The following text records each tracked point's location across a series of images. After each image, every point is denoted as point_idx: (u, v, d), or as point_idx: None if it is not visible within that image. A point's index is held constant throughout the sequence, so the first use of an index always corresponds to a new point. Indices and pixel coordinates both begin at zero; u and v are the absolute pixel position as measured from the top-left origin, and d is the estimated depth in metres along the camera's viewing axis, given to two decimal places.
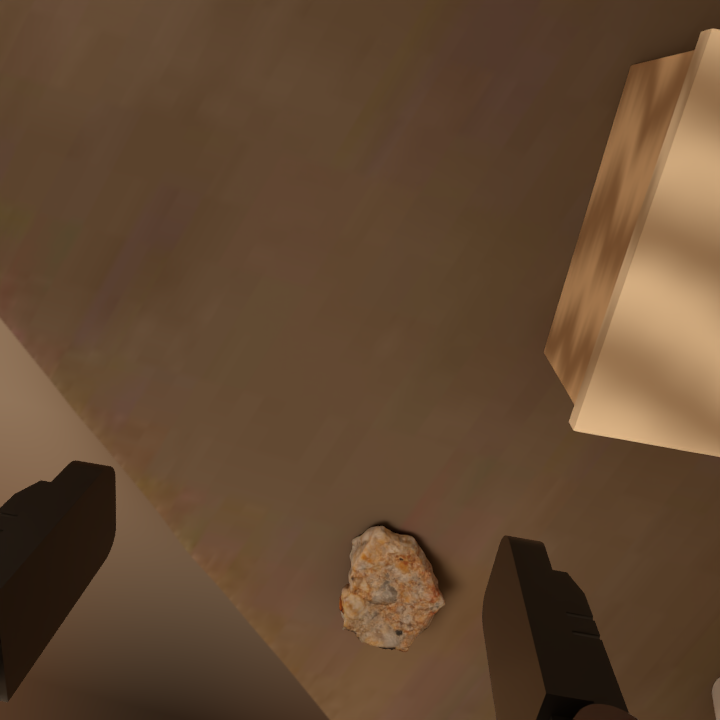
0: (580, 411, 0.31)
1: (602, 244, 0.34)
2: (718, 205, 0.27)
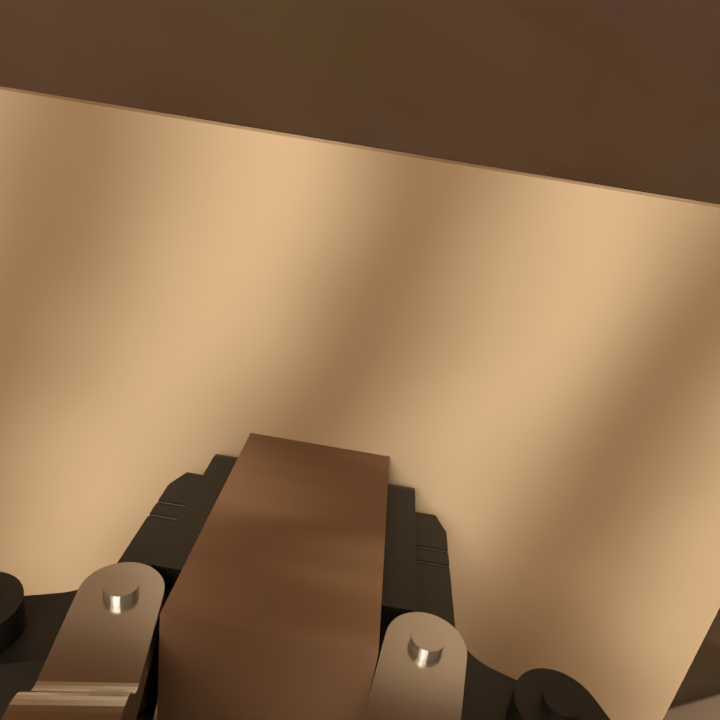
0: None
1: None
2: (485, 331, 0.11)
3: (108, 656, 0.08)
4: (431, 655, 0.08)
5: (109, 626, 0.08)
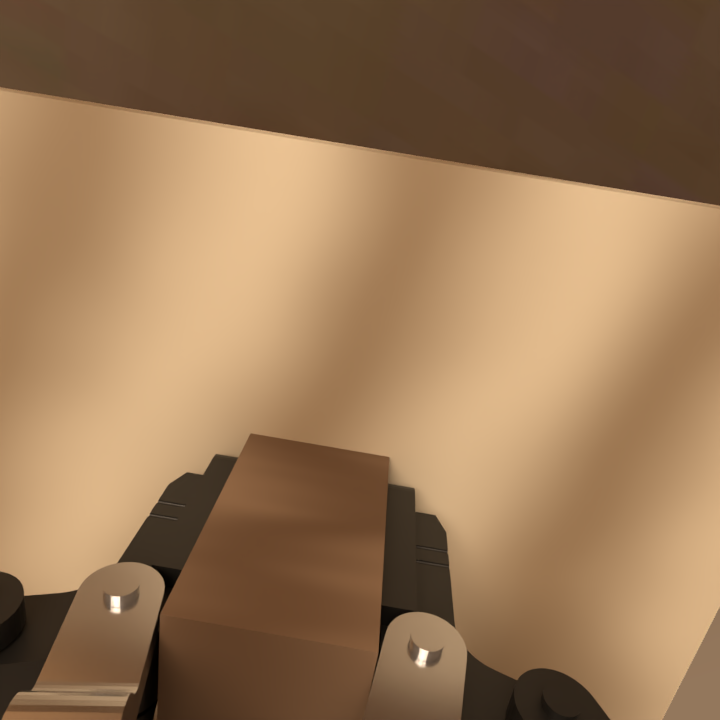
0: None
1: None
2: (485, 332, 0.11)
3: (108, 656, 0.08)
4: (431, 655, 0.08)
5: (110, 626, 0.08)
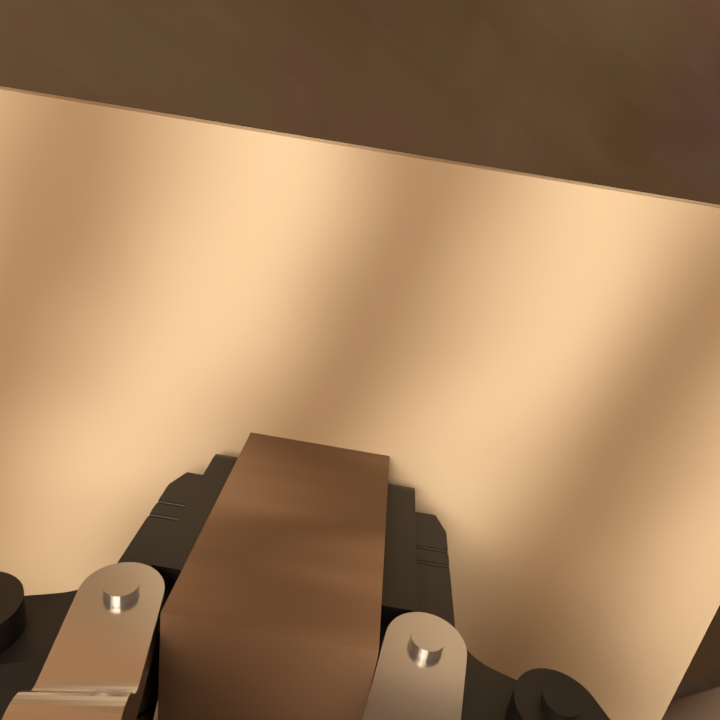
0: None
1: None
2: (485, 331, 0.11)
3: (108, 656, 0.08)
4: (431, 655, 0.08)
5: (110, 627, 0.08)
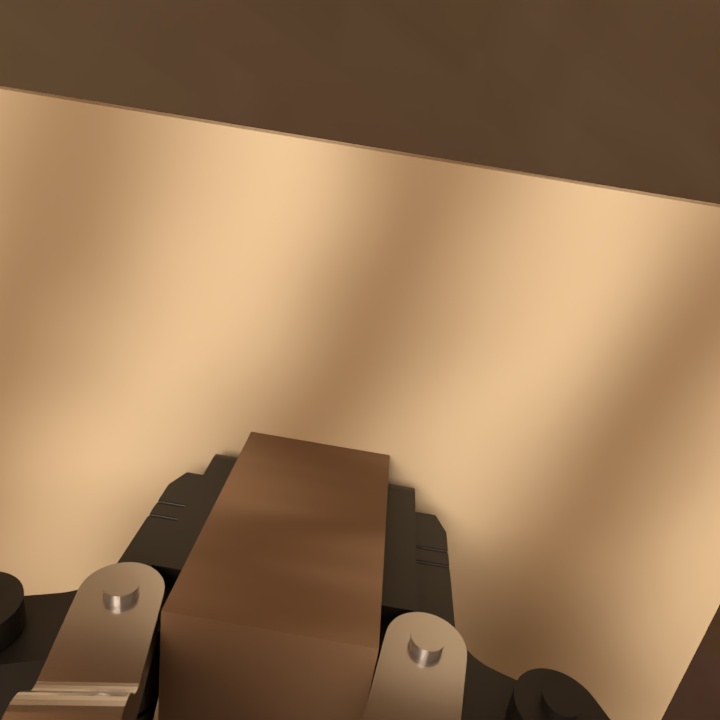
0: None
1: None
2: (485, 330, 0.11)
3: (108, 656, 0.08)
4: (431, 655, 0.08)
5: (110, 625, 0.08)
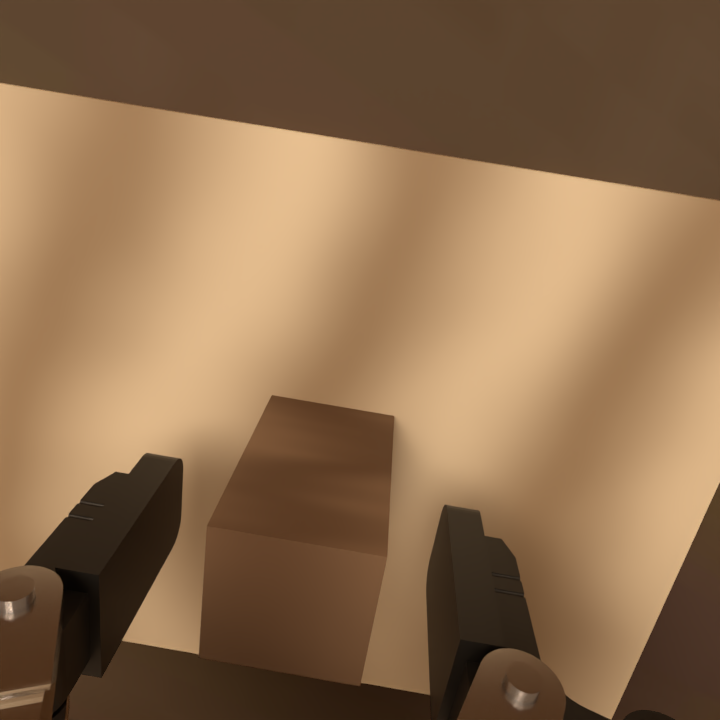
0: None
1: None
2: (478, 303, 0.13)
3: None
4: (529, 697, 0.08)
5: (9, 631, 0.08)
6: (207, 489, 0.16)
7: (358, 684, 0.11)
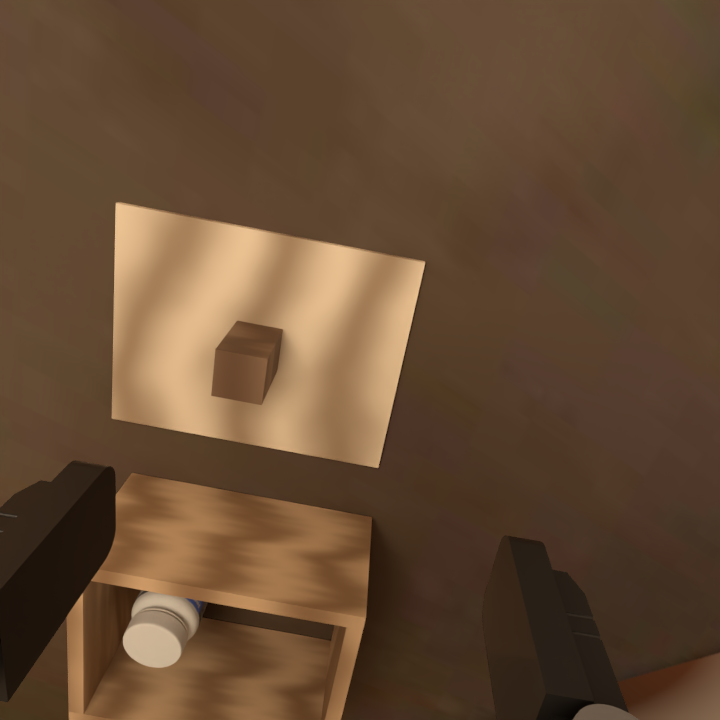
0: (134, 206, 0.36)
1: (229, 534, 0.40)
2: (310, 287, 0.37)
3: None
4: None
5: None
6: (211, 358, 0.39)
7: (261, 404, 0.35)
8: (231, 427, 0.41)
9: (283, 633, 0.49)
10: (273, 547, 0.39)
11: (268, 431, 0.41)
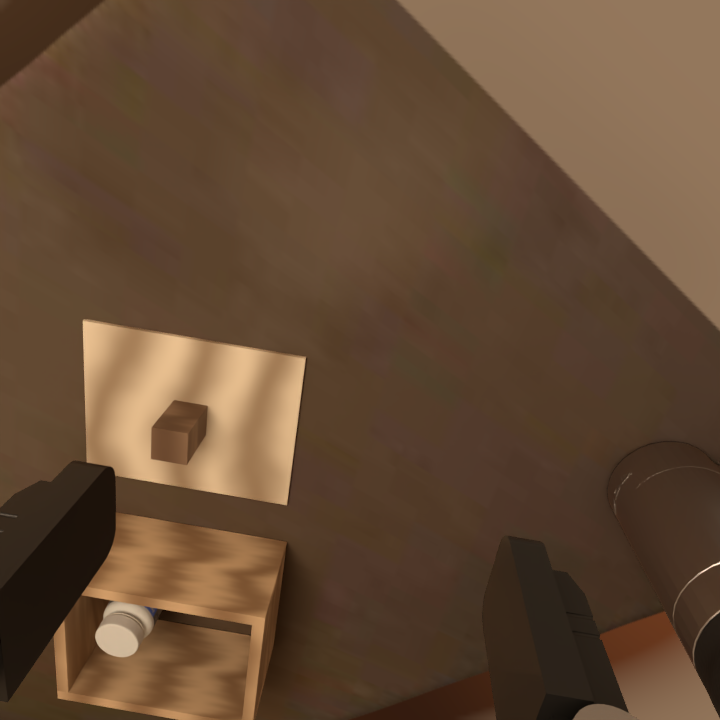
0: (96, 323, 0.50)
1: (172, 557, 0.53)
2: (225, 376, 0.51)
3: None
4: None
5: None
6: None
7: (186, 464, 0.49)
8: (175, 476, 0.55)
9: (227, 632, 0.62)
10: (205, 566, 0.53)
11: (202, 478, 0.55)
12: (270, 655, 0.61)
